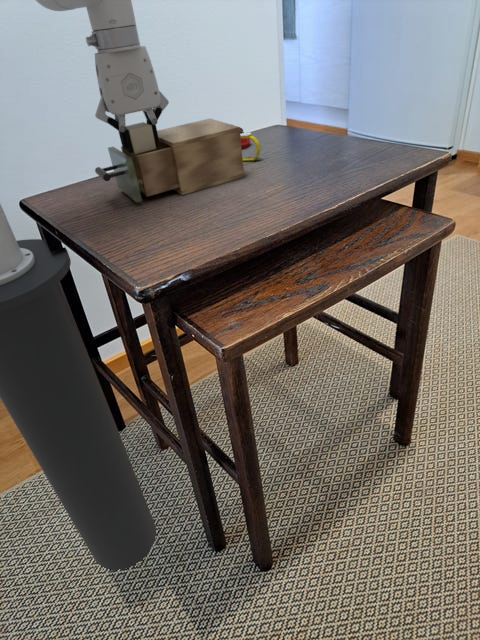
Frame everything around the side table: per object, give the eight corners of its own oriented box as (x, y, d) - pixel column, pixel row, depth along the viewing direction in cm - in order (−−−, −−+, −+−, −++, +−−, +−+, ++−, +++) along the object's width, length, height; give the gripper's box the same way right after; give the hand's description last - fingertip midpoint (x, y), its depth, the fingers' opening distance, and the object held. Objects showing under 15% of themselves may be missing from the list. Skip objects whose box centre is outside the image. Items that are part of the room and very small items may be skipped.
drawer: (115, 208, 85) (102, 164, 80) (98, 193, 94) (86, 152, 89) (198, 184, 92) (191, 142, 87) (175, 172, 100) (168, 133, 96)
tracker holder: (256, 142, 113) (217, 139, 110) (252, 159, 116) (215, 156, 113) (244, 121, 121) (208, 118, 118) (241, 137, 124) (205, 134, 121)
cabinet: (182, 195, 90) (172, 143, 84) (158, 180, 100) (148, 132, 94) (244, 177, 95) (239, 126, 90) (216, 164, 105) (210, 118, 99)
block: (135, 154, 86) (129, 130, 84) (128, 150, 89) (122, 126, 87) (156, 148, 88) (151, 125, 85) (148, 145, 91) (143, 121, 88)
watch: (262, 159, 105) (260, 132, 101) (257, 162, 103) (255, 135, 99) (239, 158, 107) (237, 132, 104) (234, 161, 105) (231, 135, 102)
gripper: (74, 48, 72) (106, 163, 83) (169, 33, 78) (188, 142, 89) (64, 47, 78) (95, 155, 88) (154, 33, 84) (173, 136, 94)
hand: (141, 147), depth 88 cm, fingers closed on block, 4 cm apart
